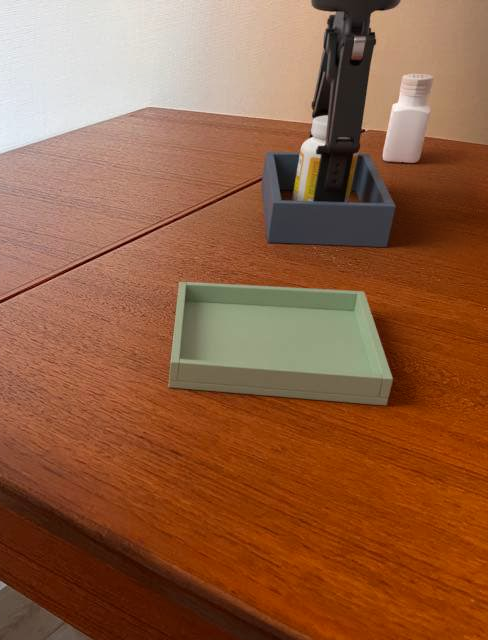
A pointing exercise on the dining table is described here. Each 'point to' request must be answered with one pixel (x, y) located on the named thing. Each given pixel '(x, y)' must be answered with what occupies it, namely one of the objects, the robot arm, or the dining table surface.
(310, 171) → the supplement bottle
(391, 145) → the salt shaker
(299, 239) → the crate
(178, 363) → the tray
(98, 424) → the dining table surface
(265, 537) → the dining table surface
